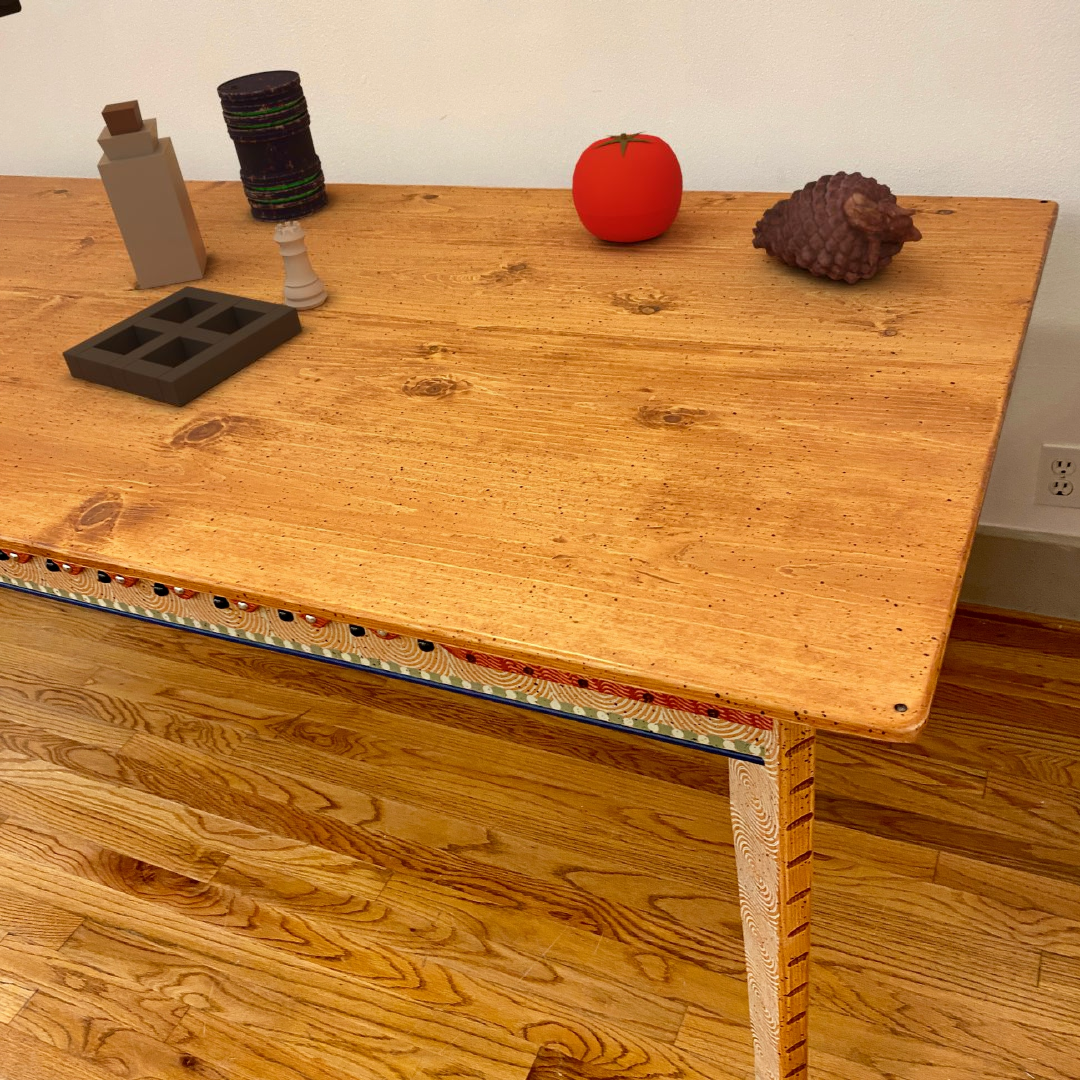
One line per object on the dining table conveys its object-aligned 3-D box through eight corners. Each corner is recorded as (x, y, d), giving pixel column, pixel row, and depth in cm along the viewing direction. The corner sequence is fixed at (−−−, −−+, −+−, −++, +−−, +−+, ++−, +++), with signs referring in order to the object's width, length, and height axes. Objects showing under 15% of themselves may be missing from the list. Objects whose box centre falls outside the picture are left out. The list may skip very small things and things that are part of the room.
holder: (71, 376, 103) (61, 352, 101) (194, 308, 113) (187, 285, 111) (180, 407, 95) (171, 382, 94) (302, 331, 105) (296, 307, 103)
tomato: (684, 211, 118) (680, 111, 112) (685, 255, 109) (680, 148, 102) (581, 219, 120) (571, 121, 114) (573, 263, 110) (562, 159, 104)
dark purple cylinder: (319, 187, 140) (290, 65, 131) (339, 208, 133) (309, 80, 124) (243, 206, 138) (208, 83, 129) (259, 228, 130) (223, 99, 121)
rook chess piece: (276, 305, 111) (255, 229, 106) (313, 289, 113) (293, 214, 108) (300, 315, 108) (280, 238, 103) (337, 299, 110) (318, 222, 105)
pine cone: (720, 279, 103) (731, 172, 102) (783, 296, 109) (794, 195, 109) (886, 268, 90) (900, 144, 89) (947, 287, 96) (961, 172, 95)
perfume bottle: (207, 256, 125) (156, 92, 114) (202, 278, 119) (148, 109, 109) (148, 266, 124) (91, 103, 114) (141, 289, 119) (80, 120, 108)
